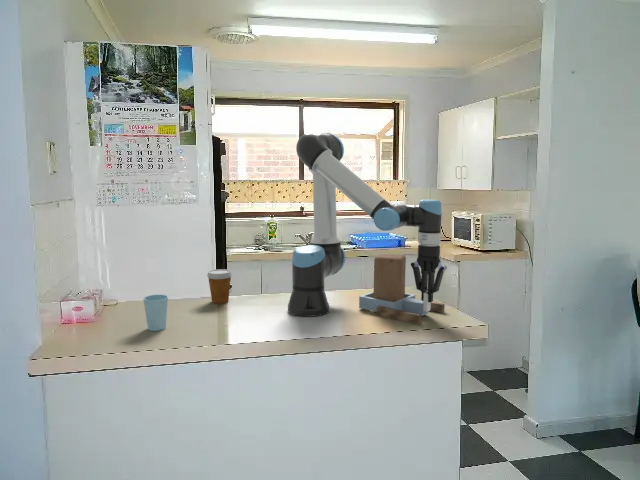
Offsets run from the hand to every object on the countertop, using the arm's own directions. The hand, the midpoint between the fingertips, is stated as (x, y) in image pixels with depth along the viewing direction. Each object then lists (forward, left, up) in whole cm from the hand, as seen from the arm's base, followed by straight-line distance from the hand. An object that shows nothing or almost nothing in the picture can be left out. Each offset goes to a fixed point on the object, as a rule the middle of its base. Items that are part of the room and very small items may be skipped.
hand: (426, 310), depth 182 cm
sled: (-12, 0, -2) cm, 12 cm away
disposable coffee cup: (-72, -33, -3) cm, 79 cm away
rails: (-6, 0, -2) cm, 7 cm away
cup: (-62, -68, -3) cm, 92 cm away
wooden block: (-16, +1, -3) cm, 16 cm away
